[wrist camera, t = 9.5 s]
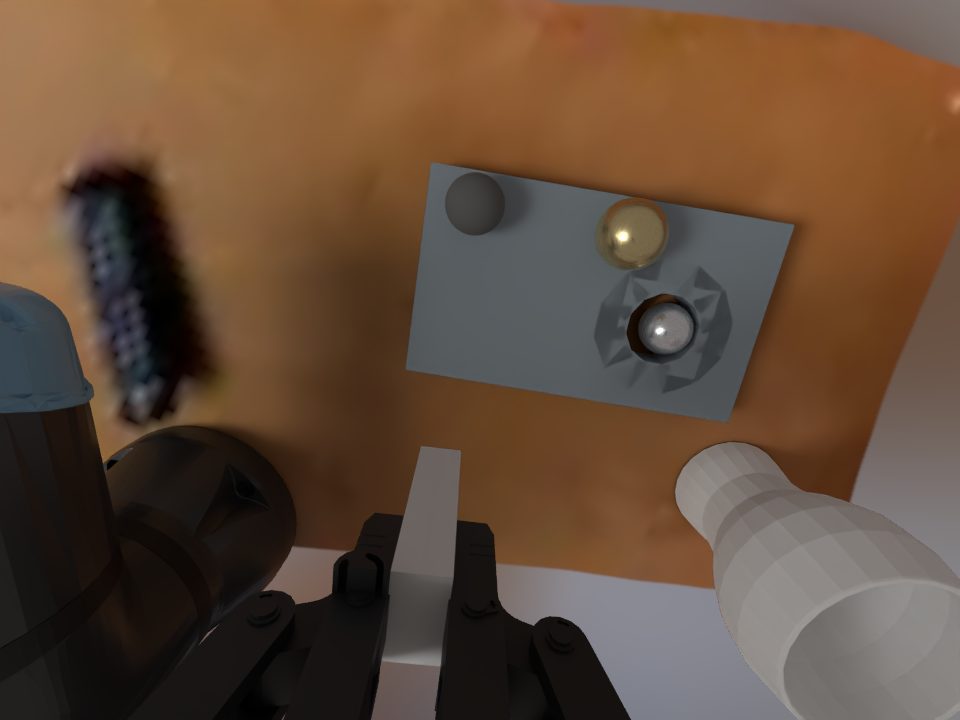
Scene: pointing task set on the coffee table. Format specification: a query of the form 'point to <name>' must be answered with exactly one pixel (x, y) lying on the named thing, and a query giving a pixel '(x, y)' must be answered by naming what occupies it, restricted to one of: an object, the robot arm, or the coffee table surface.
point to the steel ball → (665, 328)
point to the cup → (825, 593)
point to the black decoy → (475, 203)
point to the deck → (589, 299)
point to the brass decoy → (632, 234)
